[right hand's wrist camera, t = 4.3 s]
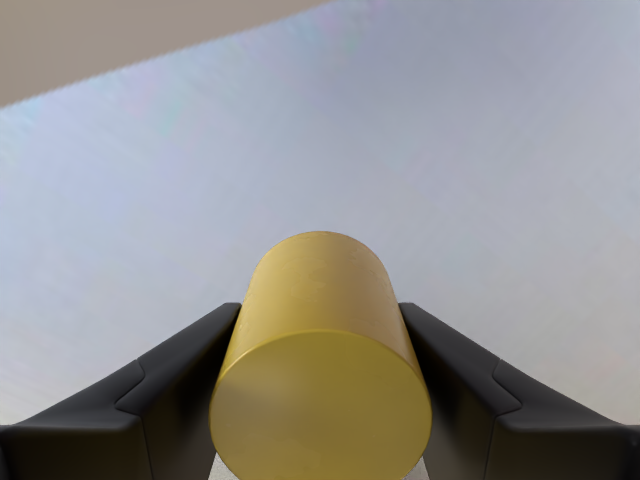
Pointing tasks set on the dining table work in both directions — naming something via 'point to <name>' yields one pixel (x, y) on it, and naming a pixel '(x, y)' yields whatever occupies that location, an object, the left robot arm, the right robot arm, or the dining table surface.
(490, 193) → the dining table surface
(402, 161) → the dining table surface
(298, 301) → the cylinder
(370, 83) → the dining table surface
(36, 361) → the dining table surface
